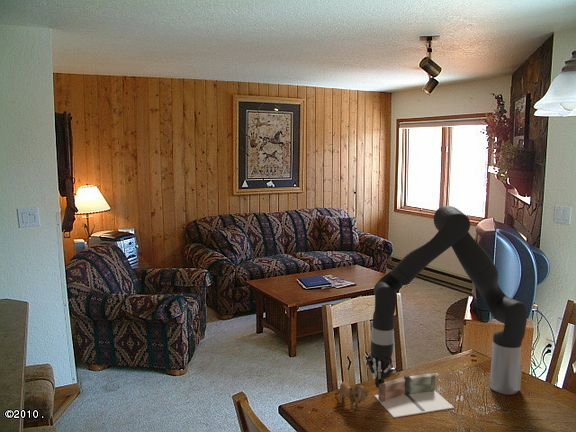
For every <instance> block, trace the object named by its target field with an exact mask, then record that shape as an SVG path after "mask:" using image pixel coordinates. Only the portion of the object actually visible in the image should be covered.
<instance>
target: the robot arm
mask: <svg viewBox="0 0 576 432" xmlns="http://www.w3.org/2000/svg"><path fill="white" fill-rule="evenodd" d="M433 214H434V215H433V224H434V227H435V229H436V230H437V233H436V234H435V235H434V236H433V237H432V238H431V239H429V241H427V242H426V243H424V244H423V245H421V246H420V247H418V248H415V249H413V250H411V251H410V252H409V253H407V254H406V255H405V256H404V257H403V258H402V259H401V260H400V261H399V262H398V263H397V264H396V265H395V267H394V268H392V269H391V270H390V271H388V272H387V273H386V274H385V275H383V276H382V277H381V278H380V279H379V280H378V281H377V282H376V283H375V285H374V287H373V294H374V311H373V315H372V327H371V332H370V346H369V347H370V348H369V349H370V354H369V355H366V356H365V360H366V363H367V365H368V367H369V370H370V372H371V373H372V374H374V378H375V381H374V385H375V387H376V388H377V389H379V384H380V383H385V380H386V379H389V378H390V377H391V376H392V375H394V374H395V372H397V370H398V368H397V367H396V366H395V367H394V366H393V363H392V362H393V360H392V356H393V354H394V353H393V352H394V339H395V332H394V327H395V326H394V325H395V312H396V308H397V299H398V297H397V296H398V294H397V292H398V290H400V289H401V288H402V287H403V286H407V285H409V284H410V283H412V281H413V280H414V279H415V278H417V276H418V275H419V274H420V273H421V272H422V271H423V270H424V269H425V268H427V266H428V265H429V264H431V262H433V261H435V260H436V259H437V258H438V257H439V256H440V255H442V254H443V253H444V252H445V251H447V250H448V249H450V248H451V249H452V250H453V252H454V254H455V257H457V259H458V261H459V263H460V265H461V266H462V268H463V270H464V272H465V273H466V275H467V277H468V278H469V279H470V281H471V282H472V283H473V285H474V287H475V288H476V289H477V291H478V292H479V294H480V296H481V297H482V299H483V301H484V303H485V305H486V308H487V310H488V311H489V313H490V315H491V316H492V318H493V319H494V320H496V321H498V322H500V323H501V324H504V326H503V330H498V331H495V332H494V333H493V334H492V335H493V337H492V348H491V349H492V350H491V364H490V377H489V387H490V389H491V390H493V391H494V392H496V393H499V394H502V395H516V394H517V393H518V392H519V391H521V385H522V384H521V383H522V375H523V374H522V372H523V371H522V370H523V366H522V364H521V356H522V355H521V354H522V342H523V340H524V338H525V334H526V329H527V322H528V320H527V319H528V309H527V305H526V304H524V303H523V302H521V301H519V300H517V299H515V298H511V297H510V296H508V295H506V293H504V291H503V290H502V289H501V287H500V286H499V283H498V280H499V271H498V268H497V267H496V265H495V263H494V261H493V259H492V258H491V256H490V255H489V254H488V252H487V251H486V250H485V249H484V248H483V247H482V246H481V245H480V244H479V242H478V241H476V239H475V238H474V237H473V236H472V235H471V234H470V232H469V231H470V229H471V228H470V227H471V221H470V219H469V217H468V216H467V215H466V214H464V213H463V212H462V211H461V210H459V208H456V207H454V206H451V205H443V206H440V207H439V208H437V210H436V211H435V213H433Z"/></svg>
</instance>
